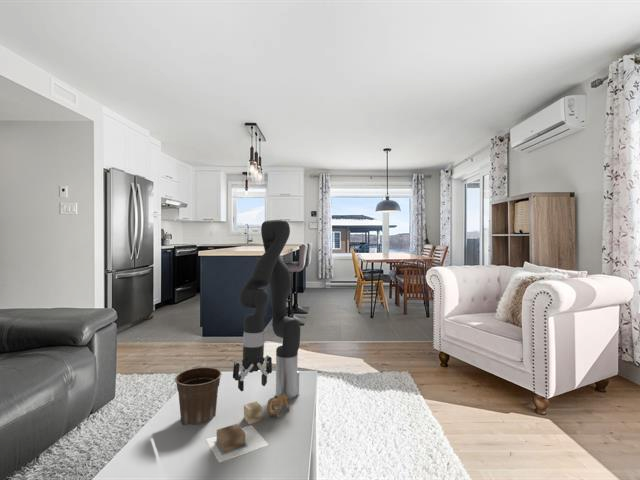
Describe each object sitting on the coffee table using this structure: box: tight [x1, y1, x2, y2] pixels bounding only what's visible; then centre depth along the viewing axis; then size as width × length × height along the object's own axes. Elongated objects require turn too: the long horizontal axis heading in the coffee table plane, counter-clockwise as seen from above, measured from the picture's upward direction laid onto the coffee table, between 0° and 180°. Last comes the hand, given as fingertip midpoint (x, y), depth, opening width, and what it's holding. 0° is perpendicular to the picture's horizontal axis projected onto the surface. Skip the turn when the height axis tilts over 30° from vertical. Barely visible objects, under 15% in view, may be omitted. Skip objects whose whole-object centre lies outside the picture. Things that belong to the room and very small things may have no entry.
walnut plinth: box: [216, 423, 245, 453], centre depth 110 cm, size 7×7×4 cm
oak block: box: [243, 401, 263, 425], centre depth 125 cm, size 5×5×6 cm
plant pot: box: [174, 366, 223, 426], centre depth 127 cm, size 16×16×16 cm
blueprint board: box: [205, 424, 270, 464], centre depth 111 cm, size 16×14×1 cm
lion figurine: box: [266, 395, 290, 419], centre depth 130 cm, size 15×5×9 cm, turn 164°
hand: (252, 387), depth 125 cm, fingers open, 8 cm apart
